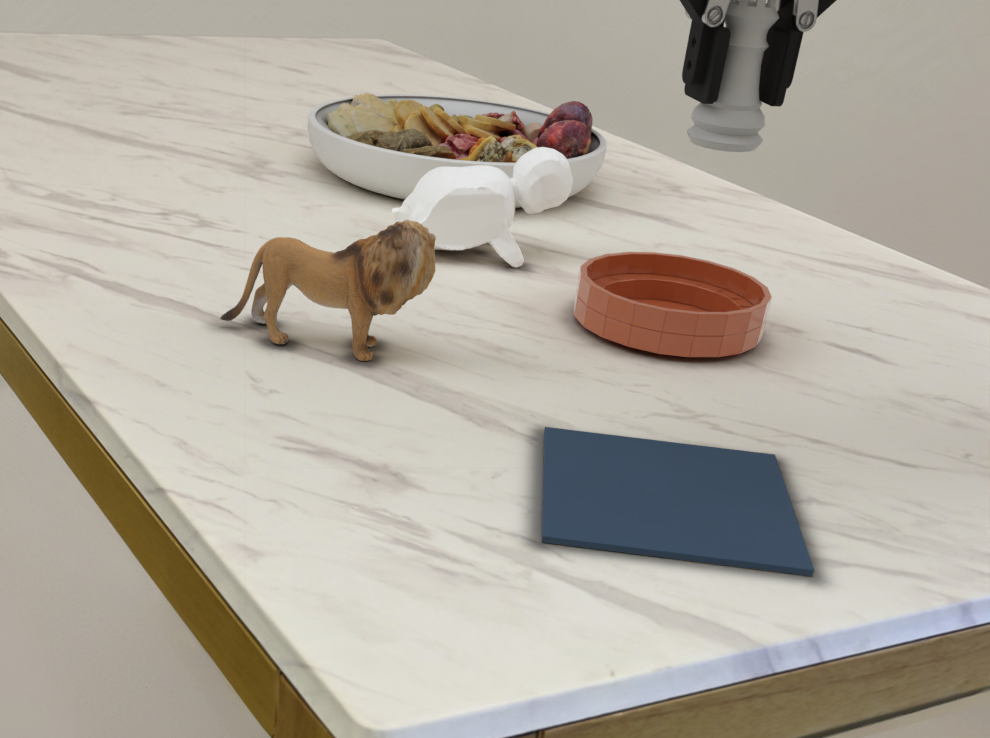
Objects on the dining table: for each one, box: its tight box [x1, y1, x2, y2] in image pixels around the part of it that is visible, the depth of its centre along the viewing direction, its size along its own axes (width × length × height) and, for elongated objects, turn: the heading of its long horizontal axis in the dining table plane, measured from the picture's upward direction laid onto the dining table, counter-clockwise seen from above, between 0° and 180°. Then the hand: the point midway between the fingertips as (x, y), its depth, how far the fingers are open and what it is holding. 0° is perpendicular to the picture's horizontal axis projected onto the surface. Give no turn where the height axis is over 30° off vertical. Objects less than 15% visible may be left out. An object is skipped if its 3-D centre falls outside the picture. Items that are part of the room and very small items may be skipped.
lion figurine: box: [219, 220, 436, 362], centre depth 85 cm, size 15×5×9 cm, turn 79°
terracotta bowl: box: [573, 251, 773, 358], centre depth 95 cm, size 14×14×4 cm
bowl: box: [307, 92, 608, 209], centre depth 128 cm, size 30×30×8 cm
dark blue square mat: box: [541, 426, 815, 577], centre depth 71 cm, size 14×14×1 cm
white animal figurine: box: [391, 147, 573, 268], centre depth 106 cm, size 9×8×15 cm
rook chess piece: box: [686, 0, 779, 153], centre depth 73 cm, size 4×4×8 cm
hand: (733, 97), depth 73 cm, fingers closed on rook chess piece, 3 cm apart
